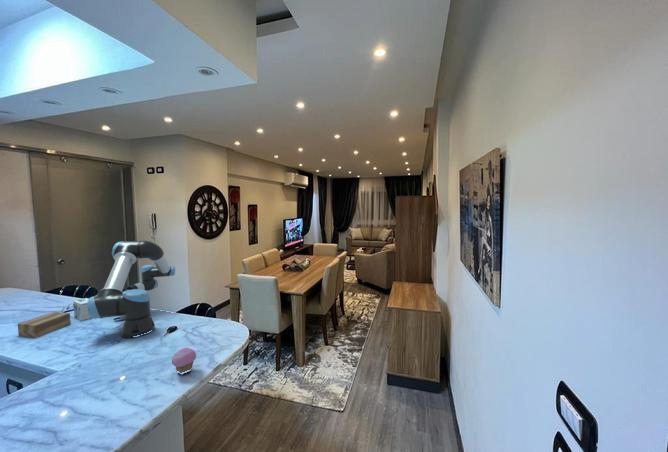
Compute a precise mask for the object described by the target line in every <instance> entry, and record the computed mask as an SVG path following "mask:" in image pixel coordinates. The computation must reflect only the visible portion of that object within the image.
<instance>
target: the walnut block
mask: <svg viewBox="0 0 668 452" xmlns="http://www.w3.org/2000/svg"><path fill="white" fill-rule="evenodd" d="M71 325H72V323H71V313H67V312H60V311H59V312H58V311H53V312H50V313H46V314H43V315H40V316H37V317H35V318H31V319H28V320H24V321H22V322H19V323H17V331H18V332H17V333H18V337H19V336H20V337H27V338H36V339H37V338H39V337H43V336H44V335H47V334H50V333H52V332H55V331H58V330H60V329H63V328H65V327H67V326H71ZM57 329H58V330H57Z"/></svg>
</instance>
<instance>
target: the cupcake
mask: <svg viewBox="0 0 668 452" xmlns="http://www.w3.org/2000/svg"><path fill="white" fill-rule="evenodd" d="M196 358H197V352H196V351H195V350H194V349H192V348H190V347H183V348H180V349H178V351H176V353H174V355H173V356H172V358H171V364H172V365H173V366H174V367H175V369H176V370H177V371H179V372H180V373H182V372H185V371H187V370H190V369H191V368H192V369H193V365H194V361H195V360H196ZM177 371H176V372H177Z"/></svg>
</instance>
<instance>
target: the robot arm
mask: <svg viewBox="0 0 668 452" xmlns="http://www.w3.org/2000/svg"><path fill="white" fill-rule="evenodd" d="M164 254H165V253H164V249H163V248H162V247H161V246H160V245H159V244H157V243H154V242H153V241H150V240H127V241H126V240H124V241H118V242H116V243H115V244H114V245H113V247H112V251H111V256H112V258H113V259H114V264H113V265H112V268H111V270H110V273H109V275H108V278H107V280H106V282H105V283H104V287H103V288H102V289H100V290H98V292H97V293H96V295H94V296H93V295H92V296H91V297H89V298H88V299H89V300H88V304H87V309H88V314H89V316H90V317H91V318H90V319H94V320H96V319H107V318H113V317H122V316H123V317H124V318H123V320H124V321H123V324H122V329H121V330H120V336H121V338H123V339H130V338H129V337H133V336H137V335H141V334H144V333H147V332H149V331H151V330H153V329H154V328H156V325H155V322H154V320H153V318H152V316H151V302H150V300H151V297H150V293H149V291H153V290H154V289H157V288H158V286H159V281H158V280H157V279H156V278H160V277H161V278H163V277H174V276H175V275H176V267H175V266H172V265H171V266H170V264H169V262H168V261H167V258H166V257H165V255H164ZM139 259H149V260H150V261H152V263H153V264H154V265H155V267H154V265H153V264H146V265H143V266H141V271H140V272H141V282H138V283H134V284H131V285H128V286H127V287H126V288H125V284H126V282H127V279H128V276H129V273H130V271H131V268H132V266H133V265H134V264H135V263H136V262H137V260H139ZM154 330H155V329H154ZM154 330H153V331H154Z"/></svg>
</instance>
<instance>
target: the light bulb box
mask: <svg viewBox="0 0 668 452" xmlns="http://www.w3.org/2000/svg"><path fill="white" fill-rule="evenodd" d="M88 300H89V298H87V297H85V298H81V299H77V300H73V301H72V302H73V303H72V304H73V315H74V318H75V319H78V320H79V321H82V322H83V321H85V320H89V319H92V318H91V317H90V316H89V314H88V309H87V304H88Z"/></svg>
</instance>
